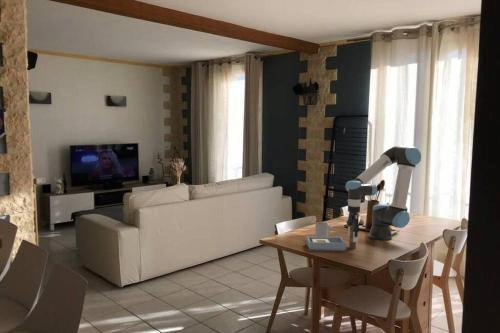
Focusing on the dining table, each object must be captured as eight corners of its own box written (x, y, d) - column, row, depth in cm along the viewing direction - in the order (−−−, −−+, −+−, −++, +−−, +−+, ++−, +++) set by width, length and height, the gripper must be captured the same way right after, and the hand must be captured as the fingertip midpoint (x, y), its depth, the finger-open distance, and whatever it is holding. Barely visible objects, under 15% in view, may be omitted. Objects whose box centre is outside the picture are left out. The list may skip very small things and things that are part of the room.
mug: (320, 241, 265) (321, 225, 264) (312, 238, 272) (312, 222, 272) (334, 239, 272) (334, 223, 271) (325, 236, 279) (326, 221, 278)
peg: (354, 247, 254) (355, 225, 253) (356, 248, 250) (357, 226, 249) (348, 246, 254) (349, 225, 253) (350, 248, 250) (350, 226, 249)
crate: (340, 244, 259) (340, 237, 259) (345, 251, 245) (345, 243, 245) (306, 244, 259) (306, 236, 259) (309, 250, 245) (309, 242, 245)
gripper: (343, 202, 262) (342, 233, 264) (352, 209, 237) (351, 244, 239) (355, 202, 262) (353, 234, 264) (365, 209, 237) (363, 244, 239)
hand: (352, 239), depth 251 cm, fingers open, 13 cm apart
